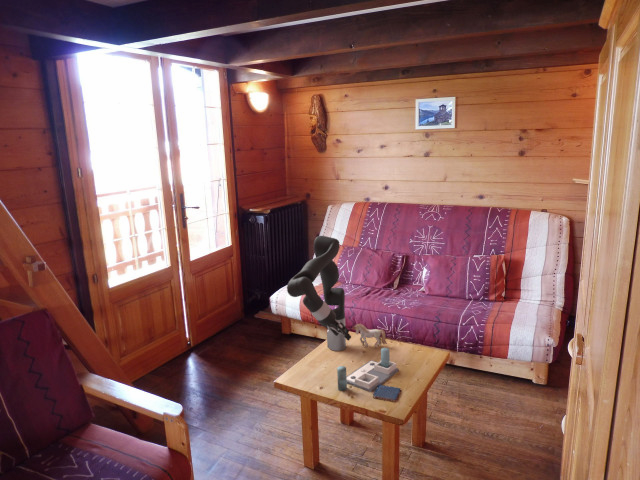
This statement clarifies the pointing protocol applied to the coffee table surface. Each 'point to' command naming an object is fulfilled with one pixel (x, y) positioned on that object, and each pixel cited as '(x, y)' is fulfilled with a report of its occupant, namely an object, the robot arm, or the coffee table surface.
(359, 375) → the peg board
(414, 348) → the coffee table surface
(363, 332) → the unicorn figurine
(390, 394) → the woven mat
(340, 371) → the teal peg
